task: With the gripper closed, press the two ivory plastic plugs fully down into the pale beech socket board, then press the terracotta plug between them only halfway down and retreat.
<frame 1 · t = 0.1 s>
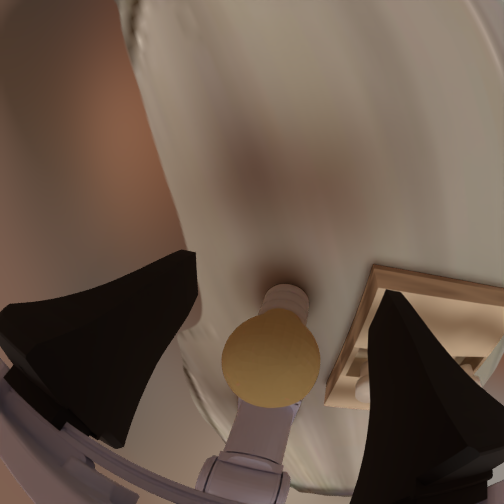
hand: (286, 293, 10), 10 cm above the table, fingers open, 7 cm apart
light bulb: (288, 296, 23), on the table
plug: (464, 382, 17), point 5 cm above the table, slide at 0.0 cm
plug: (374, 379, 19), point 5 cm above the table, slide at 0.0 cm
socket board: (416, 345, 22), on the table
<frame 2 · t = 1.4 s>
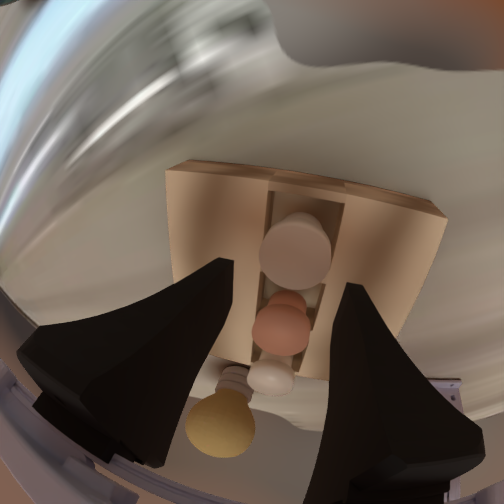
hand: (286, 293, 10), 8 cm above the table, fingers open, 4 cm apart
light bulb: (241, 371, 27), on the table
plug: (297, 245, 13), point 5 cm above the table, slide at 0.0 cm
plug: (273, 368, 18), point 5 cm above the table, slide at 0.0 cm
plug mid: (284, 320, 16), point 5 cm above the table, slide at 0.0 cm
socket board: (294, 277, 19), on the table
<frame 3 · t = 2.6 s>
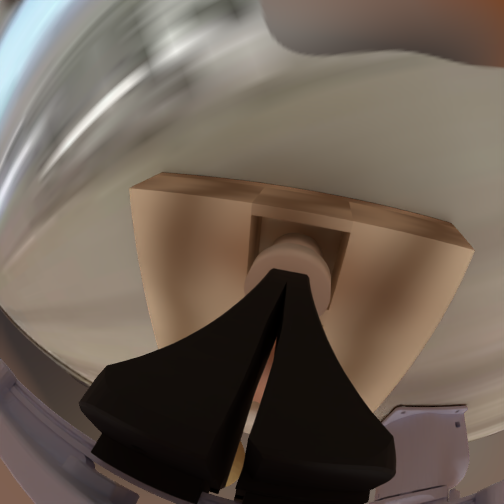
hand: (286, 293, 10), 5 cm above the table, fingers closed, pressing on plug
light bulb: (232, 397, 24), on the table
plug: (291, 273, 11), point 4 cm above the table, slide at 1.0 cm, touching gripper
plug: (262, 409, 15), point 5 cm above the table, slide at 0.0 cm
plug mid: (272, 366, 13), point 5 cm above the table, slide at 0.0 cm
socket board: (287, 308, 17), on the table
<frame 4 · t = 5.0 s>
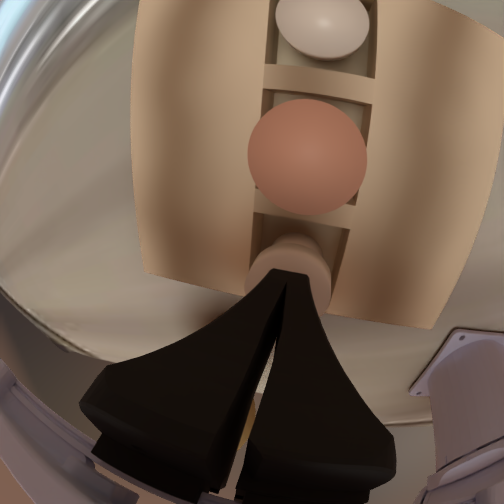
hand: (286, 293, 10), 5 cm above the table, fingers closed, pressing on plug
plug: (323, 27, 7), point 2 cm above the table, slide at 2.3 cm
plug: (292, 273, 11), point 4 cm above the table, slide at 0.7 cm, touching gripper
plug mid: (309, 151, 8), point 5 cm above the table, slide at 0.0 cm
socket board: (314, 139, 12), on the table
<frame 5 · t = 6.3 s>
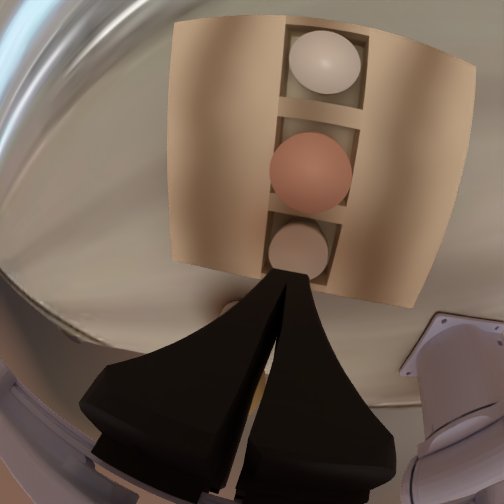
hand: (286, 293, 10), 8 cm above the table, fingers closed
light bulb: (246, 312, 23), on the table
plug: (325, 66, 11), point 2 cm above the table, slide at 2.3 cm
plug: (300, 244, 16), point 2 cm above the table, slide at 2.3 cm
plug mid: (312, 167, 11), point 5 cm above the table, slide at 0.0 cm
socket board: (315, 152, 15), on the table
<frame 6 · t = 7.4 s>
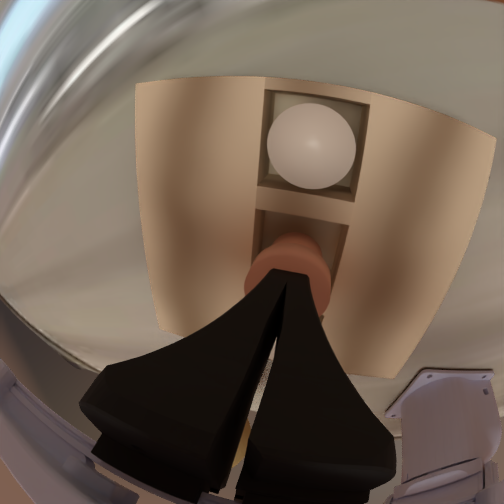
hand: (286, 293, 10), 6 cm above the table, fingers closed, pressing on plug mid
light bulb: (235, 364, 22), on the table
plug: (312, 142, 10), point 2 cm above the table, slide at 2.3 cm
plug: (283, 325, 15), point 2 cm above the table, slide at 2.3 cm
plug mid: (291, 273, 11), point 4 cm above the table, slide at 0.3 cm, touching gripper
socket board: (301, 230, 15), on the table
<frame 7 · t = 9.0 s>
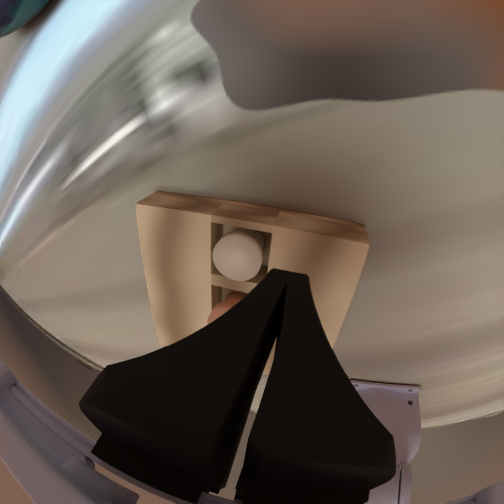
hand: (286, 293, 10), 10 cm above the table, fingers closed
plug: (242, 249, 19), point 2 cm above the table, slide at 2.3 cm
plug mid: (234, 315, 20), point 3 cm above the table, slide at 1.1 cm
socket board: (246, 288, 23), on the table
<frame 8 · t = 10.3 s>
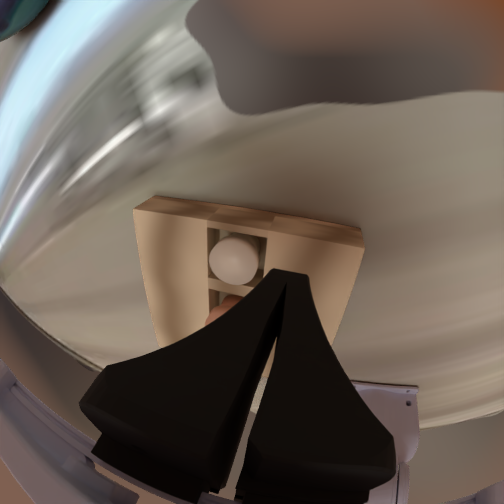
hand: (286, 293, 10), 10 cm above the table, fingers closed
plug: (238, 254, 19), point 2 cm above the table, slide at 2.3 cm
plug mid: (231, 318, 20), point 3 cm above the table, slide at 1.1 cm
socket board: (243, 291, 23), on the table
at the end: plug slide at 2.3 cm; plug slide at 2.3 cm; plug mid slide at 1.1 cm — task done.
